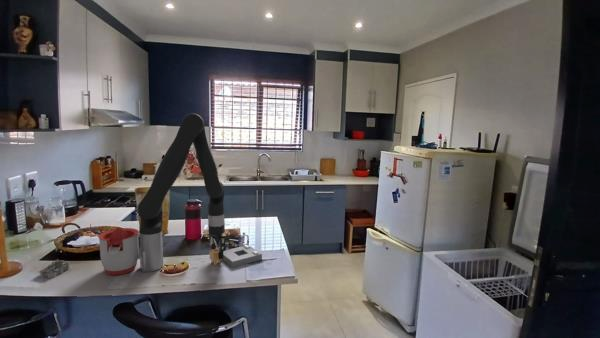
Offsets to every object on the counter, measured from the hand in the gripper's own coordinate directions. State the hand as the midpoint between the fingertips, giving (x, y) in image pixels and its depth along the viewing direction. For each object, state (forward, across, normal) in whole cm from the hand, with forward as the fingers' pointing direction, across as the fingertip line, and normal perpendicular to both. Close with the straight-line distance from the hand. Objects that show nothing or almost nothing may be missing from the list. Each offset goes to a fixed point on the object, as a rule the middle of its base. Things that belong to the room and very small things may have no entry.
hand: (217, 255), depth 154 cm
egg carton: (+3, -31, -62) cm, 69 cm away
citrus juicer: (+3, -17, -39) cm, 42 cm away
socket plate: (+4, +2, +12) cm, 12 cm away
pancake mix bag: (+3, -59, -14) cm, 61 cm away
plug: (+4, 0, 0) cm, 4 cm away
